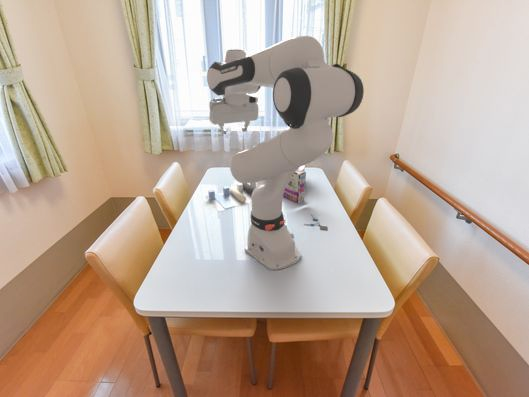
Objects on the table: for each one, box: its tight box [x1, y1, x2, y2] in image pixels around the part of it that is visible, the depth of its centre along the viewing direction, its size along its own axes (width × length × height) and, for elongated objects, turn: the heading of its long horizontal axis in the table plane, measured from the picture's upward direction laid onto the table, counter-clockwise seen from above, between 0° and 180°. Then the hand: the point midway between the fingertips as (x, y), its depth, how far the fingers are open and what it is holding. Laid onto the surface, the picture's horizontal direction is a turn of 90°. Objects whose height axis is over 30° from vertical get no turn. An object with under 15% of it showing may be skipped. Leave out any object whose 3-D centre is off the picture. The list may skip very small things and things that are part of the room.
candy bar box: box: [283, 170, 307, 204], centre depth 133 cm, size 11×5×16 cm, turn 42°
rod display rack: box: [205, 182, 257, 212], centre depth 137 cm, size 18×28×6 cm, turn 122°
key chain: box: [303, 214, 329, 232], centre depth 117 cm, size 14×8×1 cm, turn 27°
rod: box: [228, 186, 246, 202], centre depth 137 cm, size 14×3×3 cm, turn 32°
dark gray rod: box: [242, 183, 254, 195], centre depth 140 cm, size 16×4×4 cm, turn 32°
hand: (234, 132), depth 109 cm, fingers open, 8 cm apart
